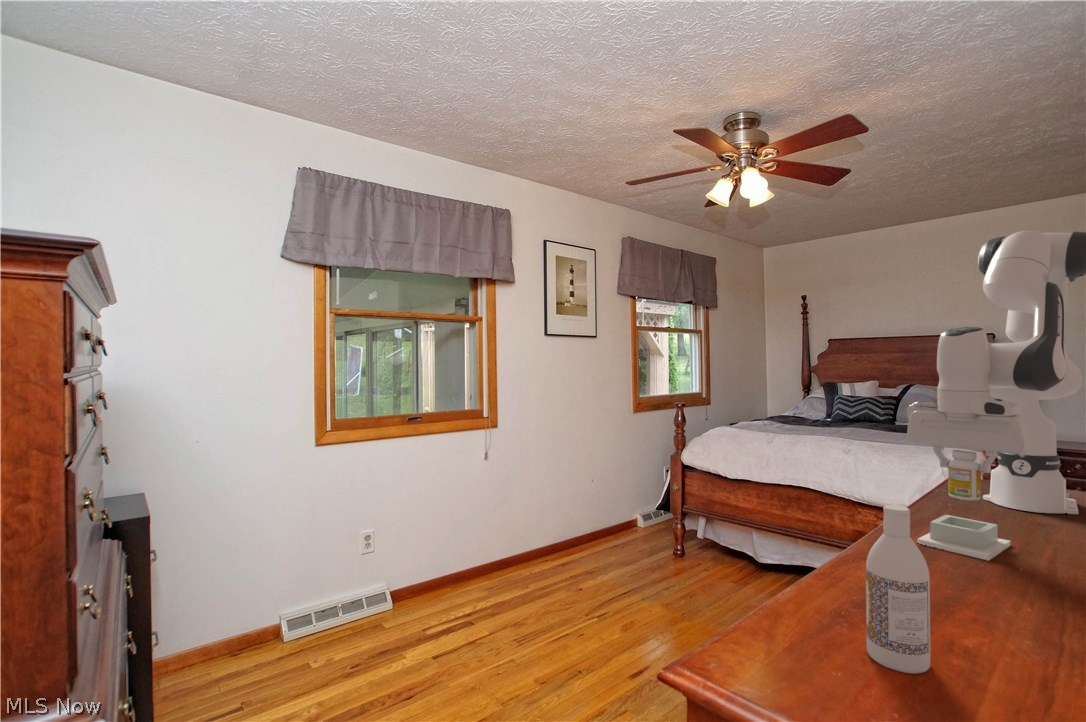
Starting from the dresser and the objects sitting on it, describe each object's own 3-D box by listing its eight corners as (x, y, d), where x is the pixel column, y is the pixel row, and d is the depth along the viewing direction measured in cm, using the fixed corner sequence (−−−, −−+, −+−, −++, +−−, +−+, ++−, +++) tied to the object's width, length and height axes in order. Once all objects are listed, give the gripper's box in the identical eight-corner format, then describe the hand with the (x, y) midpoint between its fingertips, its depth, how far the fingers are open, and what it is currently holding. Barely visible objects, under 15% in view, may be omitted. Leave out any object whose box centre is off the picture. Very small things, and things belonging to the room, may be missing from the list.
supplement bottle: (968, 494, 114) (968, 449, 114) (987, 501, 108) (987, 453, 108) (942, 493, 114) (942, 449, 114) (959, 500, 109) (959, 453, 109)
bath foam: (871, 640, 74) (870, 498, 74) (932, 657, 70) (931, 506, 70) (862, 662, 69) (860, 508, 69) (928, 682, 64) (926, 518, 64)
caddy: (942, 530, 120) (942, 511, 120) (1010, 545, 111) (1010, 524, 111) (917, 543, 112) (917, 522, 112) (988, 560, 102) (988, 537, 102)
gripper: (901, 402, 118) (902, 464, 118) (1022, 407, 101) (1023, 479, 101) (912, 400, 122) (913, 460, 121) (1031, 405, 105) (1032, 475, 105)
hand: (964, 469), depth 111 cm, fingers closed on supplement bottle, 5 cm apart
